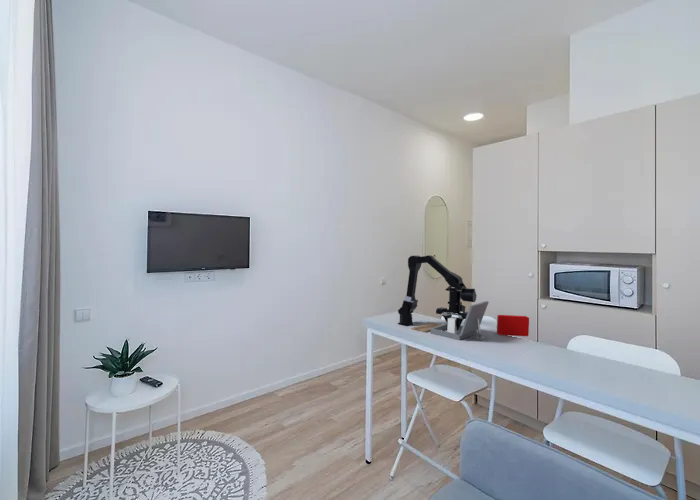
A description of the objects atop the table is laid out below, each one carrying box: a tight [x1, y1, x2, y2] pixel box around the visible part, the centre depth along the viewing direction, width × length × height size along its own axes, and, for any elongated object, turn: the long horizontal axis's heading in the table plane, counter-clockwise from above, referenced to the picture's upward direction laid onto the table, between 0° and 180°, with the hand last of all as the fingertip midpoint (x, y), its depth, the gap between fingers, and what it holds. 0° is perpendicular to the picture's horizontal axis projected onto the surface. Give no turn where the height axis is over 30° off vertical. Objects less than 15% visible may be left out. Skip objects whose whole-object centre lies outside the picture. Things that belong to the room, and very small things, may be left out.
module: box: [446, 316, 461, 334], centre depth 180 cm, size 4×6×8 cm
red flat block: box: [496, 314, 530, 337], centre depth 180 cm, size 15×3×10 cm, turn 84°
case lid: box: [459, 300, 490, 336], centre depth 172 cm, size 16×19×1 cm
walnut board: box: [411, 322, 442, 333], centre depth 191 cm, size 9×20×1 cm, turn 136°
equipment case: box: [430, 319, 485, 341], centre depth 177 cm, size 24×19×10 cm
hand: (453, 329), depth 180 cm, fingers closed on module, 4 cm apart
